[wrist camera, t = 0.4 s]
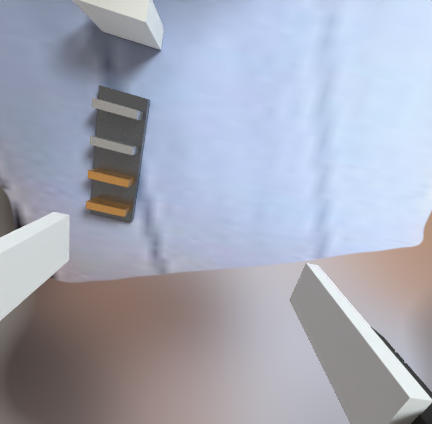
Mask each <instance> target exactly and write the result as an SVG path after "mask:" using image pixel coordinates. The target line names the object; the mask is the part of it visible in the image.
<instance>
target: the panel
mask: <svg viewBox="0 0 432 424" xmlns="http://www.w3.org/2000/svg"><path fill="white" fill-rule="evenodd" d="M72 1H73V2H74V3H75V4H76V5H77V6H78V7H79V8H80V9H81V10H82V11H83V12H84V13H85V14H86V15H87V16H88V17H89V18H90V19H91V20H92V21H93V22H94V23H95V24H96V25H97V26H98V27H99V28H100V29H101V30H102V31H103V32H105V33H108V34H111V35H115V36H118V37H121V38H124V39H127V40H130V41H134V42H137V43H140V44H143V45H146V46H149V47H153V48H156V49H159V50H161V47H162V40H163V33H164V28H163V25H162V23H161V20H160V18H159V15H158V13H157V10H156V8H155V6H154V3H153V1H152V0H72Z"/></svg>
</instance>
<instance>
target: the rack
mask: <svg viewBox="0 0 432 424" xmlns="http://www.w3.org/2000/svg"><path fill="white" fill-rule="evenodd" d="M149 105H150V100H148V99H145V98H141V97H138V96H134V95H131V94H127V93H124V92H120V91H117V90H113V89H110V88H106V87H103V86H99V94H98V99H96V98H93V99H92V107H93V108H97V123H96V136H90V145H94V146H95V153H94V168H93V169H91V170H88V178H90V179H93V182H92V197H91V199H90V200H88V201H86V209H91V212H90V213H91V214H96V215H100V216H105V217H110V218H114V219H119V220H123V221H128V222H132V221H133V219H134V212H135V205H136V198H137V191H138V183H139V176H140V169H141V162H142V155H143V148H144V141H145V134H146V126H147V119H148V112H149Z"/></svg>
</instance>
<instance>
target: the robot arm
mask: <svg viewBox="0 0 432 424" xmlns="http://www.w3.org/2000/svg"><path fill="white" fill-rule="evenodd" d="M68 261H69V215H66V214H61V213H57V212H52V213H50V214H48V215H46V216H44V217H42V218H40V219H38V220H36V221H34V222H32V223H30V224H27V225H25V226H23V227H21V228H19V229H17V230H15V231H13V232H11V233H9V234H7V235H5V236H3V237H1V238H0V321H1V319H3V318H4V317H5V316H6V315H7V314H9V313H10V312H11V311H12V310H13V309H14V308H15V307H16V306H18V305H19V304H20V303H21V302H22V301H23V300H24V299H26V298H27V297H28V296H29V295H30V294H31V293H32V292H34V290H36V289H37V288H38V287H39V286H40V285H42V284H43V283H44V282H45V281H46V280H47V279H48V278H49V277H51V276H52V275H53V274H54V273H55V272H56V271H57V270H59V269H60V268H61V267H62V266H63V265H64V264H65V263H67V262H68ZM290 302H291V304H292V306H293V308H294V310H295V312H296V314H297V316H298V318H299V320H300V322H301V324H302V326H303V328H304V331H305V332H306V334H307V336H308V339H309V340H310V343H311V345H312V346H313V349H314V351H315V353H316V355H317V357H318V359H319V361H320V363H321V365H322V367H323V369H324V371H325V373H326V375H327V377H328V379H329V381H330V383H331V385H332V387H333V389H334V391H335V393H336V395H337V397H338V400H339V402H340V403H341V406H342V408H343V410H344V412H345V414H346V416H347V418H348V420H349V422H350V424H432V392H431V391H430V390H429V389H428V388H427V387H426V385H425V384H424V383H423V382H422V381H421V379H419V377H418V376H417V375H416V374H415V373H414V371H413V370H412V369H411V368H410V367H409V366H408V365H407V364H406V363H404V360H403V359H402V358H401V357H400V355H399V354H398V353H396V352H395V350H394V349H393V348H392V347H391V345H390V344H389V343H388V342H387V341H386V339H385V338H384V337H383V336H381V335H380V334H379V333H378V332H377V331H376V330H374V329H373V328H372V327H370V326H369V325H368V324H367V322H366V321H365V320H364V319H363V318H362V316H361V315H360V314H359V313H358V312H357V311H356V309H355V308H354V307H353V306H352V305H351V304H350V302H349V301H348V300H347V299H346V298H345V296H344V295H343V294H342V293H341V292H340V291H339V289H338V288H337V287H336V286H335V285H334V283H333V282H332V281H331V280H330V279H329V278H328V276H327V275H326V274H325V273H324V272H323V271H322V269H321V268H320V267H319V266H318V265H313V264H308V263H306V265H305V267H304V269H303V271H302V274H301V276H300V278H299V280H298V282H297V284H296V287H295V289H294V291H293V293H292V296H291V298H290Z"/></svg>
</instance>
